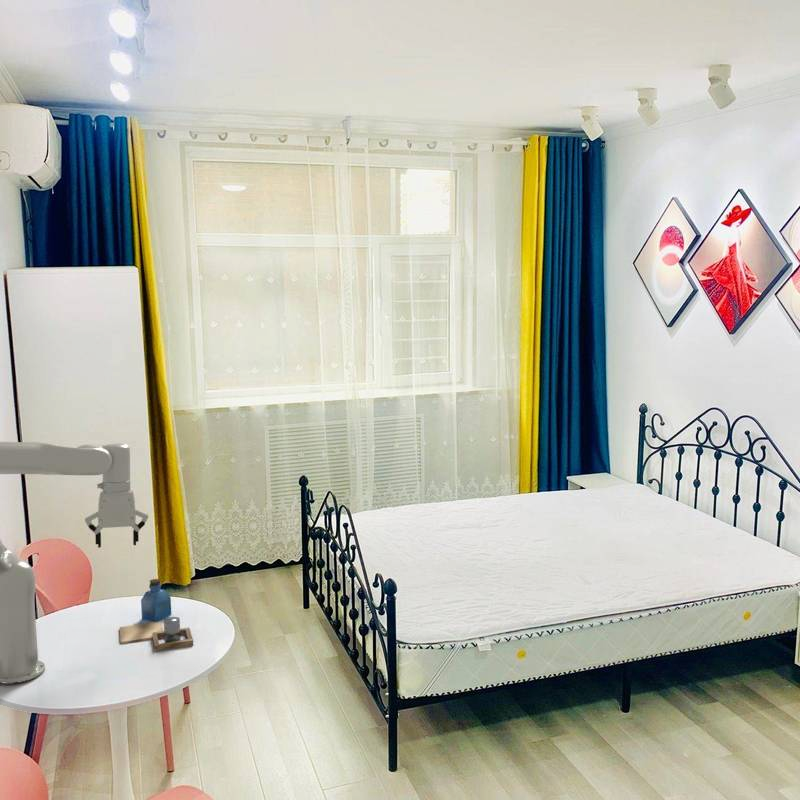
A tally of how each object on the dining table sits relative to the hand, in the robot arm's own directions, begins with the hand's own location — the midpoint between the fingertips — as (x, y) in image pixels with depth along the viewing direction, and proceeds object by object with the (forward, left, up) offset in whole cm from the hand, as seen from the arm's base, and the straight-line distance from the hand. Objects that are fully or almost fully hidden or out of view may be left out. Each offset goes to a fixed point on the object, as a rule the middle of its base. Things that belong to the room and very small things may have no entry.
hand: (117, 545), depth 233 cm
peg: (+13, -11, -27) cm, 32 cm away
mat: (+5, -1, -27) cm, 27 cm away
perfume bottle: (+10, +10, -27) cm, 31 cm away
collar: (+13, -11, -27) cm, 32 cm away
